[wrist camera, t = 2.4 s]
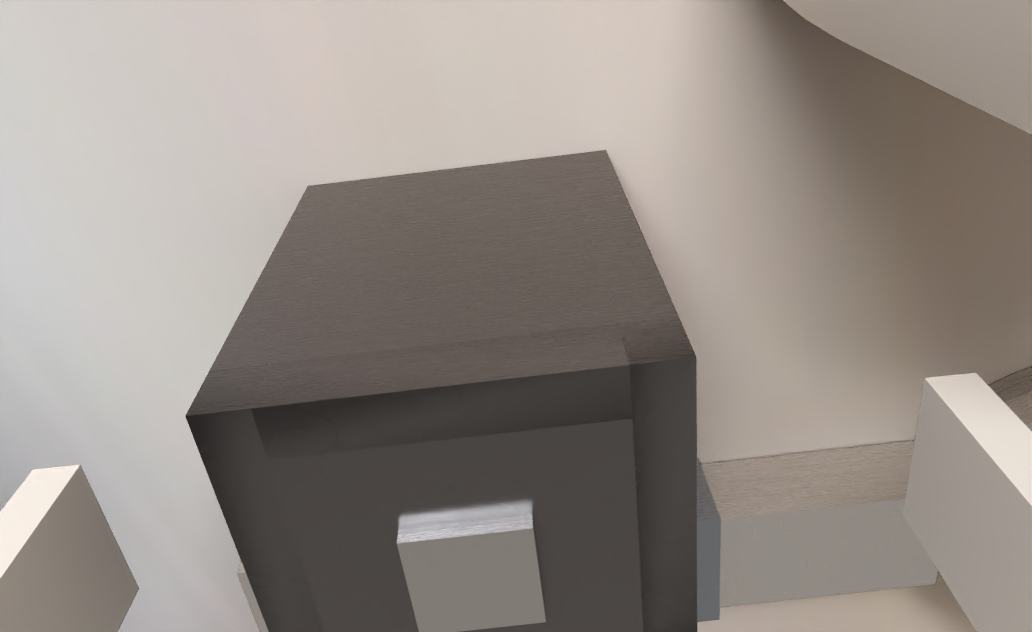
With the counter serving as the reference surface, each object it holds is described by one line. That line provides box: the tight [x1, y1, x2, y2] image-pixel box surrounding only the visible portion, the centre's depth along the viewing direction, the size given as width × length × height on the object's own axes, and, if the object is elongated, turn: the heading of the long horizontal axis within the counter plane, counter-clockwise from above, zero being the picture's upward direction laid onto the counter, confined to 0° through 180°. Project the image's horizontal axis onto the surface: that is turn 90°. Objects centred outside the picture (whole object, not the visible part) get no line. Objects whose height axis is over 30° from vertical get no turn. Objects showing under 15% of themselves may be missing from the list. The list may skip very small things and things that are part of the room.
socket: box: [186, 150, 697, 632], centre depth 15 cm, size 6×6×8 cm
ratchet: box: [237, 367, 1032, 632], centre depth 19 cm, size 24×7×6 cm, turn 96°
